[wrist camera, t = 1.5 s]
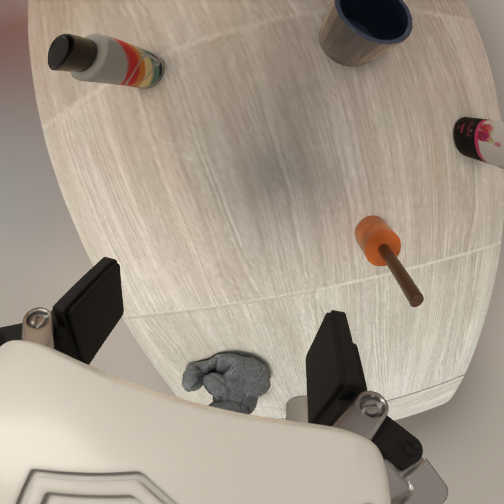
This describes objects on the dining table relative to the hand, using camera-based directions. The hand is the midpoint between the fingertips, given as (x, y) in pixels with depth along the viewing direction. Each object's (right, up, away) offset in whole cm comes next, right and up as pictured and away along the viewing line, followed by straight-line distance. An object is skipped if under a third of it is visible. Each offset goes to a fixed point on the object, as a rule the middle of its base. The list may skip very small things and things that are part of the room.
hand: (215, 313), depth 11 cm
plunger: (+20, +6, +28) cm, 35 cm away
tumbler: (+15, +32, +16) cm, 38 cm away
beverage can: (+36, +21, +19) cm, 46 cm away
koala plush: (-2, -24, +46) cm, 52 cm away
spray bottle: (-14, +30, +20) cm, 39 cm away
